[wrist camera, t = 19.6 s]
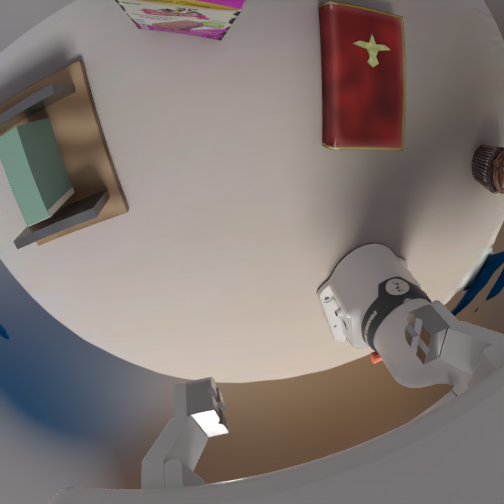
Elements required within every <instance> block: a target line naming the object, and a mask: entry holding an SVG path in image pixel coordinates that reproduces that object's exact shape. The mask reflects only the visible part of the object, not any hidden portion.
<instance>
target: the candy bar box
mask: <svg viewBox="0 0 504 504" xmlns="http://www.w3.org/2000/svg"><path fill="white" fill-rule="evenodd" d="M115 1H116V2H117V3H118V4H119V5H120V6H121V8H122V9H123V10H124V11H125V12H126V13H127V15H128V16H129V17H130V18H131V19H132V21H133V22H134V23H135V24H136V26H137V27H138V28H139V29H150V30H159V31H168V32H176V33H183V34H189V35H195V36H201V37H206V38H212V39H216V40H222V38H223V37H224V35H225V34H226V32H227V31H228V29H229V28H230V26H231V25H232V23H233V22H234V21H235V19H236V18H237V16H238V15H239V14H240V12H241V11H242V8H243V5H244V2H245V0H115Z"/></svg>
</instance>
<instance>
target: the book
mask: <svg viewBox="0 0 504 504" xmlns="http://www.w3.org/2000/svg"><path fill="white" fill-rule="evenodd" d="M0 158H1V161H2V164H3V167H4V170H5V173H6V175H7V178H8V181H9V183H10V186H11V189H12V191H13V194H14V196H15V199H16V201H17V203H18V206H19V208H20V210H21V213H22V215H23V217H24V219H25V222H26V224H27V226H28V227H29V226H31V225H33V224H35V223H38V222H40V221H42V220H45V219H47V218H49V217H51V216H52V215H53V214H54V213H55V212H56V211H57V210H58V209H59V208H60V207H61V206H62V205H63V204H64V203H65V202H66V200H67V199H68V198H69V197H70V196H71V195H72V194H73V193H75V192H74V189H73V186H72V183H71V181H70V178H69V175H68V173H67V170H66V167H65V164H64V162H63V159H62V156H61V153H60V150H59V147H58V144H57V141H56V138H55V134H54V131H53V128H52V125H51V121H50V118H46V119H42V120H38V121H34V122H30V123H27V124H23V125H20V126H16V127H15V128H13V129H12V130H10V131H8V132H7V133H5V134H4V135H2V136H1V137H0Z"/></svg>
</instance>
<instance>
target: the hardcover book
mask: <svg viewBox="0 0 504 504" xmlns="http://www.w3.org/2000/svg"><path fill="white" fill-rule="evenodd" d="M319 19H320V36H321V58H322V98H323V146H324V147H326V148H328V149H331V150H396V151H403V141H404V124H405V88H406V76H405V42H404V26H403V17H402V16H398V15H394V14H391V13H387V12H383V11H379V10H375V9H371V8H366V7H361V6H357V5H352V4H346V3H341V2H335V1H327V2H324V3H322V4H320V5H319Z"/></svg>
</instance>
